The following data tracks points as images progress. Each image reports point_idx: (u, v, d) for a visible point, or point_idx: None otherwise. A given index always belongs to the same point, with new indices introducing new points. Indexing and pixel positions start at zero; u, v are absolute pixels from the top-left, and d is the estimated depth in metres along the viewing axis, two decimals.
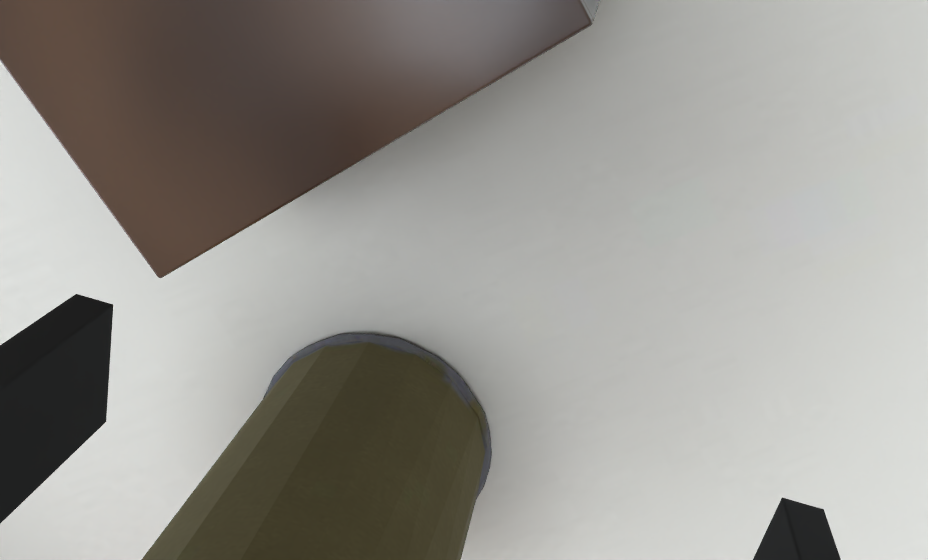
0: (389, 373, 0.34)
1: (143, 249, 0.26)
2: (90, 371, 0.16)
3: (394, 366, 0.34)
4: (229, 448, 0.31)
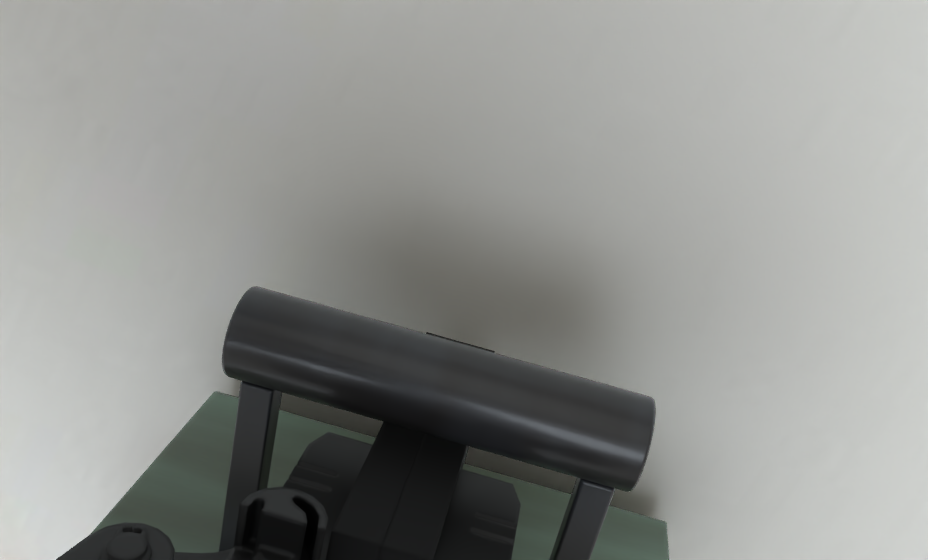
0: None
1: None
2: None
3: None
4: None
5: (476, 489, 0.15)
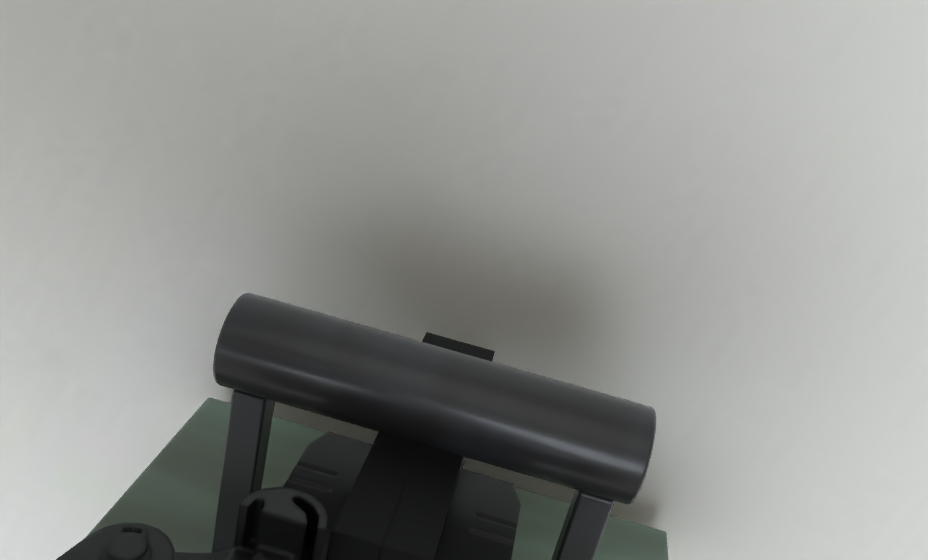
0: None
1: None
2: None
3: None
4: None
5: (476, 489, 0.15)
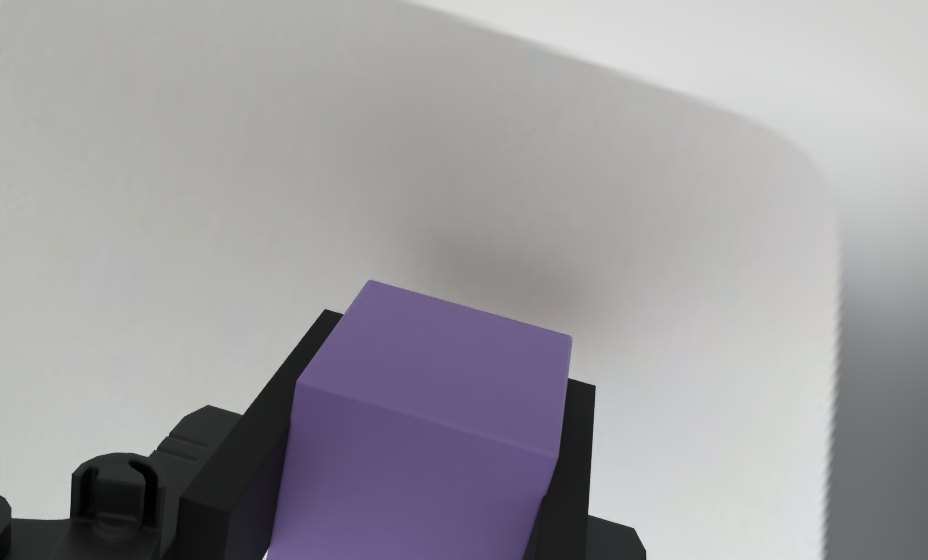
0: None
1: None
2: None
3: None
4: None
5: (599, 535, 0.14)
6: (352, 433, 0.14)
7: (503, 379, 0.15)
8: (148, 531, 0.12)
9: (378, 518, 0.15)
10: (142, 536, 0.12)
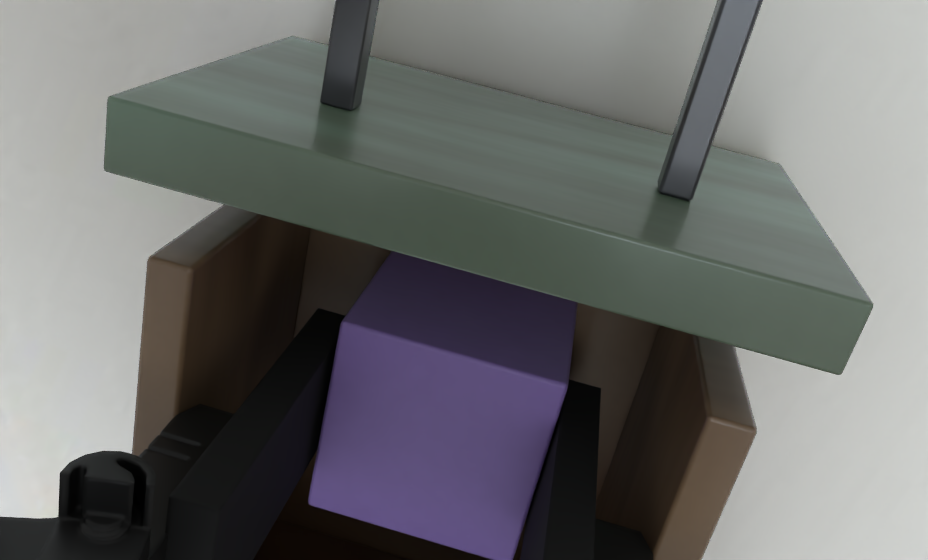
0: None
1: None
2: None
3: None
4: None
5: (606, 538, 0.14)
6: (389, 369, 0.16)
7: (519, 326, 0.18)
8: (137, 530, 0.12)
9: (409, 445, 0.17)
10: (131, 535, 0.12)
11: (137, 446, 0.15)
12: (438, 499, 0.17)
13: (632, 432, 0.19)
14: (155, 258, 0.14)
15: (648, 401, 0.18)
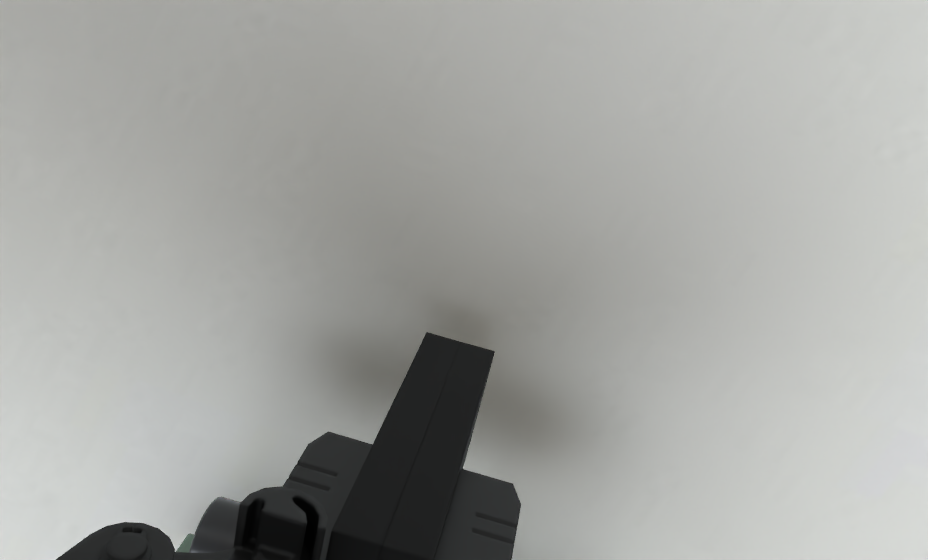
0: None
1: None
2: None
3: None
4: None
5: (476, 489, 0.15)
6: None
7: None
8: None
9: None
10: None
11: None
12: None
13: None
14: None
15: None
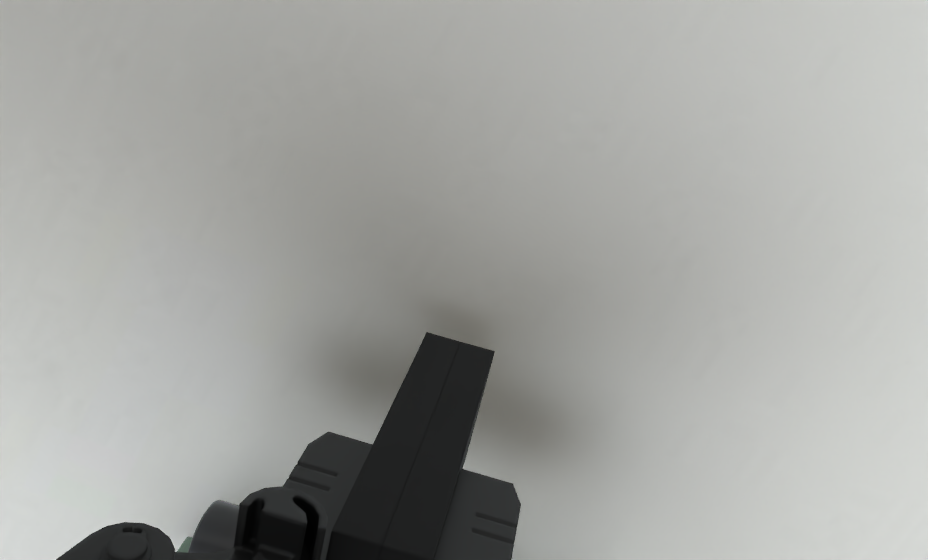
0: None
1: None
2: None
3: None
4: None
5: (476, 489, 0.15)
6: None
7: None
8: None
9: None
10: None
11: None
12: None
13: None
14: None
15: None
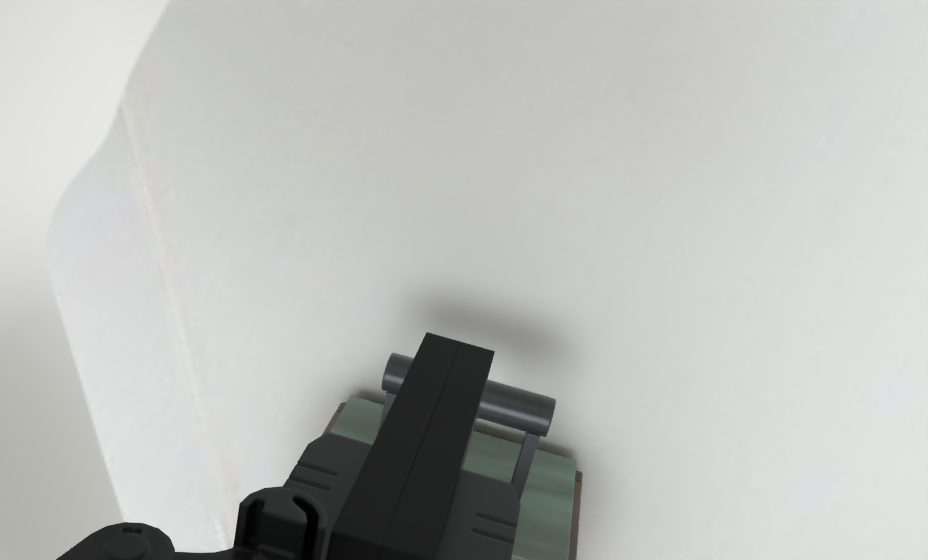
0: None
1: None
2: None
3: None
4: None
5: (476, 489, 0.15)
6: None
7: None
8: None
9: None
10: None
11: None
12: None
13: None
14: None
15: None
